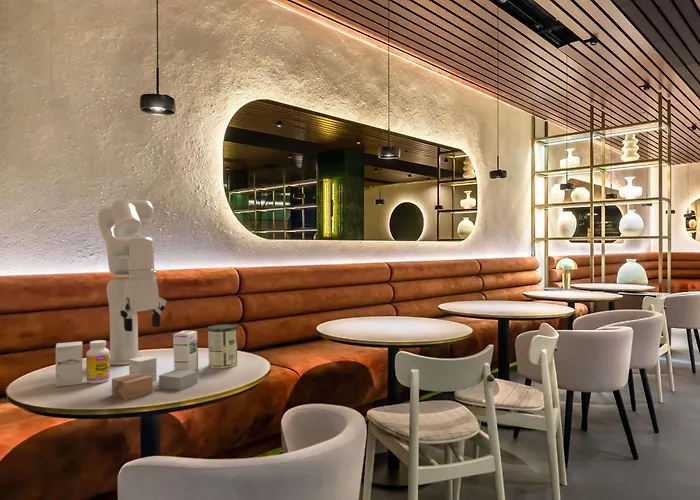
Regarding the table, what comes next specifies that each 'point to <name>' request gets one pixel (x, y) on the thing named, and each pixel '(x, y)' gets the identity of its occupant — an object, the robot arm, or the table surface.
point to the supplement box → (68, 363)
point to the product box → (143, 366)
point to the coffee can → (222, 345)
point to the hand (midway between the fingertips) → (142, 328)
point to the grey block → (178, 379)
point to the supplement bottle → (97, 362)
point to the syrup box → (185, 351)
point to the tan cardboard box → (132, 386)
